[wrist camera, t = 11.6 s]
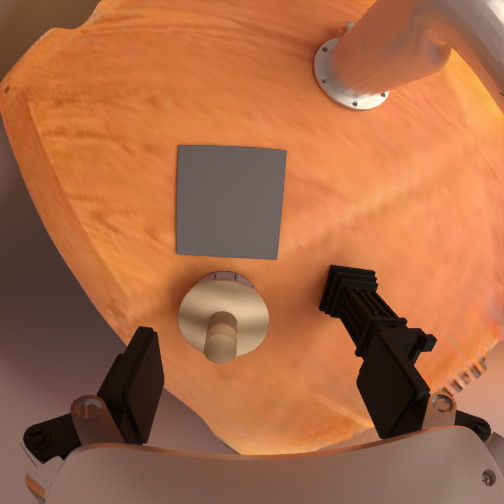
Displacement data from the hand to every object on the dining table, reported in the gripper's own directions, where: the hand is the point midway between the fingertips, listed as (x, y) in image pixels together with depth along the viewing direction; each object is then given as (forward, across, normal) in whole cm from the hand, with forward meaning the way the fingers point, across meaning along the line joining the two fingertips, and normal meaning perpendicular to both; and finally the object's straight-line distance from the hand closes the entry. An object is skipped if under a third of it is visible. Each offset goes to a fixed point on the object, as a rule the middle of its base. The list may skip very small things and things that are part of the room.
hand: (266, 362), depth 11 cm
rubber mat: (+30, +3, -2) cm, 31 cm away
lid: (+25, +3, +14) cm, 29 cm away
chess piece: (+31, -17, +11) cm, 37 cm away
